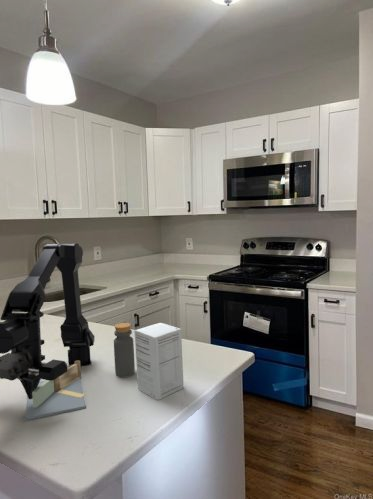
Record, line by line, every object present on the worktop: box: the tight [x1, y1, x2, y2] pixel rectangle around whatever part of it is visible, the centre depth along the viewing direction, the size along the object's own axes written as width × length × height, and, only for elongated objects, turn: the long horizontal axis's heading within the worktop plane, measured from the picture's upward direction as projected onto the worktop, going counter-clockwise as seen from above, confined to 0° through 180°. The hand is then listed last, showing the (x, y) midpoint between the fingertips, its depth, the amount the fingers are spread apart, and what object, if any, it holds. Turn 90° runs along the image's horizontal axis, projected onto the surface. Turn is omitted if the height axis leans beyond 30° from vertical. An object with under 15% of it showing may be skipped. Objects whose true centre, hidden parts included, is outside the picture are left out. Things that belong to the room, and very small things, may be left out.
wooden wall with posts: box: [54, 360, 82, 392], centre depth 103 cm, size 2×11×5 cm, turn 157°
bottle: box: [113, 322, 136, 378], centre depth 109 cm, size 6×6×15 cm
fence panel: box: [32, 380, 54, 408], centre depth 93 cm, size 8×1×4 cm, turn 171°
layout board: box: [24, 375, 87, 422], centre depth 97 cm, size 14×20×1 cm
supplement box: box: [134, 322, 185, 401], centre depth 98 cm, size 10×9×17 cm
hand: (31, 398), depth 91 cm, fingers closed
